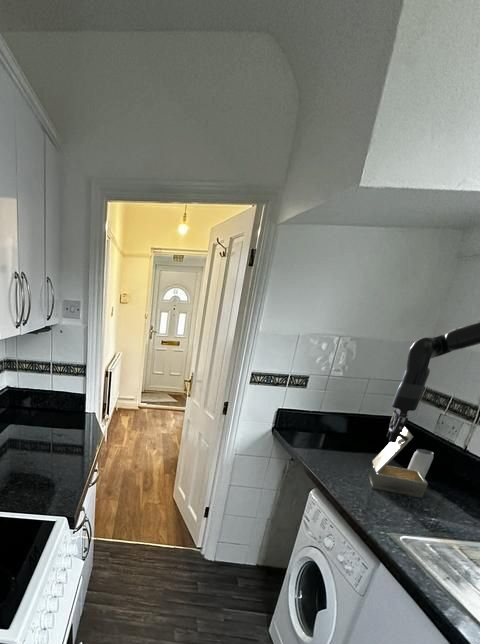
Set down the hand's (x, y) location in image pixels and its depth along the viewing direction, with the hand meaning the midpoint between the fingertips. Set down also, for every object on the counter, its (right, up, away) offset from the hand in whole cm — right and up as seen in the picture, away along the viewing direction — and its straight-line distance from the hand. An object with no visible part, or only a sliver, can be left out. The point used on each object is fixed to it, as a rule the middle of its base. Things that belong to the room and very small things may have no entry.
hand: (390, 440), depth 156 cm
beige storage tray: (+4, -18, +5) cm, 19 cm away
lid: (+1, -4, +1) cm, 4 cm away
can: (+19, -15, +14) cm, 28 cm away
